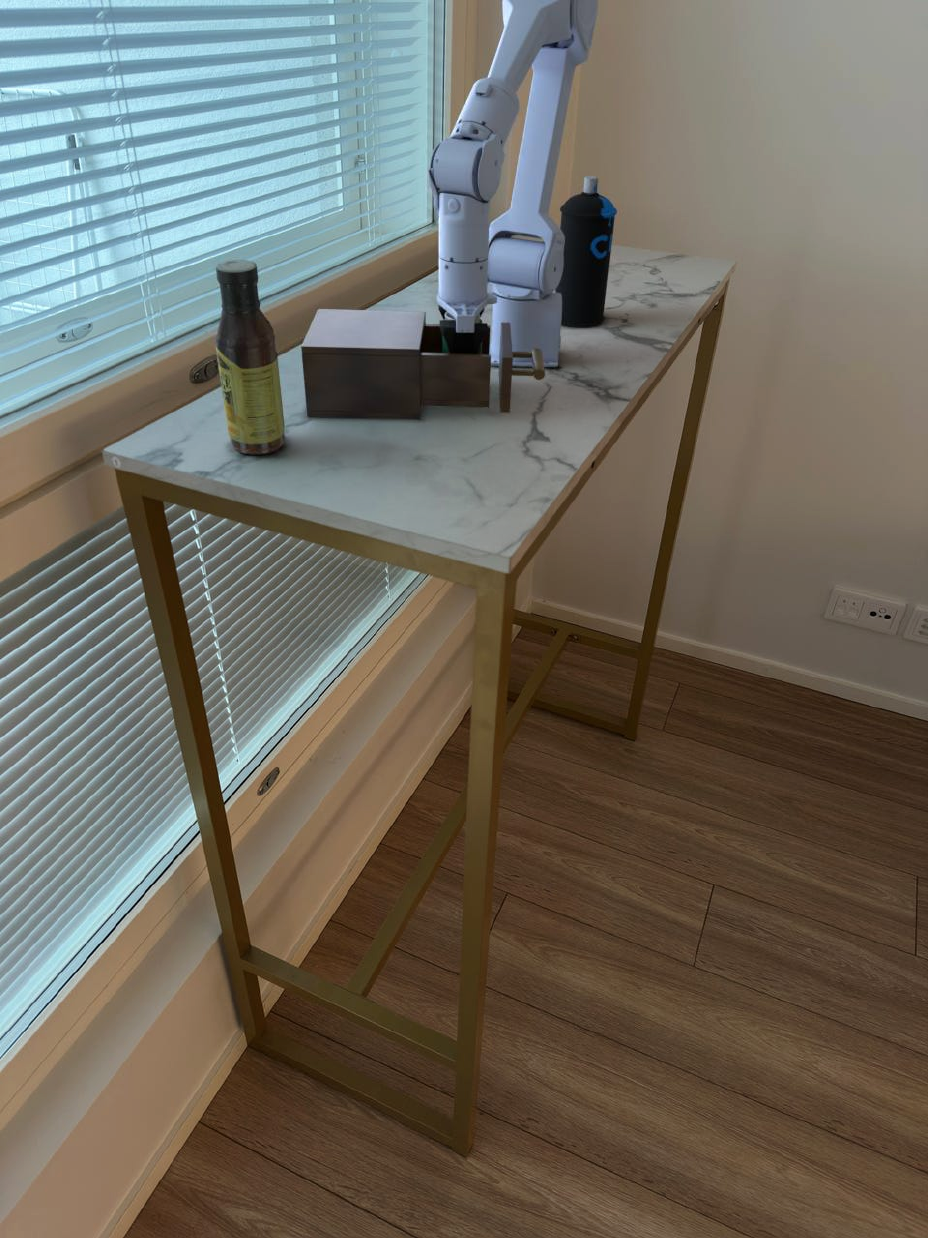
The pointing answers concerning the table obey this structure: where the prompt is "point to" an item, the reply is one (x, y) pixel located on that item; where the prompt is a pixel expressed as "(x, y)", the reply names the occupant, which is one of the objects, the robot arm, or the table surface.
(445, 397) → the drawer
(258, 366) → the sauce bottle
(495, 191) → the robot arm
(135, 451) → the table surface
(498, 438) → the table surface
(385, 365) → the cabinet
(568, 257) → the aerosol can
